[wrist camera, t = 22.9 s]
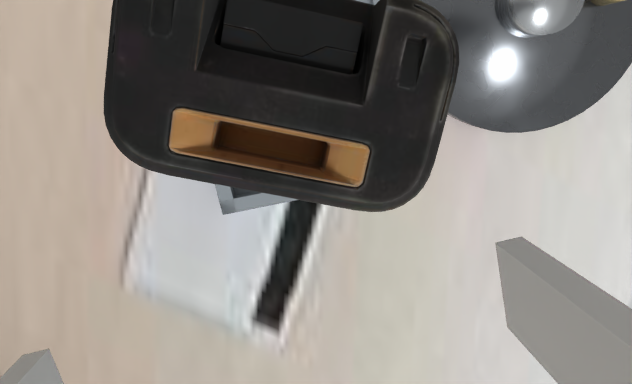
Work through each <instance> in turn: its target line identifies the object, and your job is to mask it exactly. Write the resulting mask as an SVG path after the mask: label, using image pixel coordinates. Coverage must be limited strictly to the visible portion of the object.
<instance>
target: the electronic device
mask: <svg viewBox="0 0 632 384" xmlns="http://www.w3.org/2000/svg"><path fill="white" fill-rule="evenodd" d="M458 67H459V45H458V42H457V38H456V35H455V33H454V31H453V29H452V27H451V25H450V23H449V22H448V21H447V20H446V19H445V17H444V16H443V15H442V14H441V13H440V12H439V11H437V10H436V9H435V8H434V7H432V6H430V5H428V4H426V3H424V2H422V1H419V0H379V1H378V2H377V3H376V4H375V5H373V4H368V3H364V2H359V1H355V0H113V5H112V14H111V25H110V36H109V47H108V58H107V68H106V79H105V90H104V116H105V123H106V126H107V129H108V132H109V134H110V137H111V139H112V140H113V142H114V143H115V145H116V146H117V148H118V149H119V150H120V151H121V152H122V153H123V154H124V155H125V156H126V157H127V158H128V159H130V160H131V161H133V162H134V163H136V164H137V165H139V166H141V167H144V168H146V169H148V170H151V171H155V172H158V173H162V174H166V175H170V176H176V177H181V178H186V179H192V180H197V181H202V182H208V183H213V184H218V185H224V186H229V187H234V188H239V189H245V190H250V191H255V192H261V193H266V194H271V195H277V196H282V197H287V198H293V199H298V200H303V201H309V202H314V203H319V204H325V205H330V206H335V207H340V208H346V209H351V210H358V211H367V212H382V211H387V210H392V209H395V208H397V207H400V206H402V205H404V204H405V203H407V202H408V201H410V200H411V199H412V198H414V197H415V196H416V195H417V194H418V193H419V192H420V191H421V189H422V188H423V187H424V185H425V183H426V182H427V180H428V178H429V176H430V173H431V170H432V168H433V165H434V162H435V159H436V155H437V151H438V147H439V144H440V140H441V136H442V132H443V128H444V125H445V121H446V117H447V113H448V110H449V106H450V102H451V98H452V95H453V91H454V87H455V83H456V78H457V73H458Z"/></svg>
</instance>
